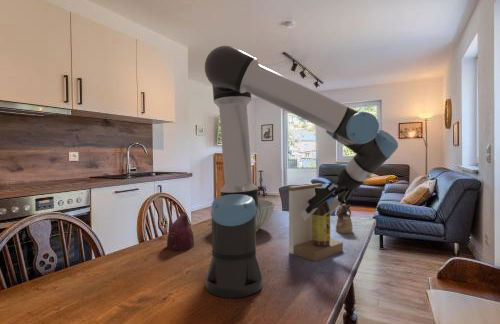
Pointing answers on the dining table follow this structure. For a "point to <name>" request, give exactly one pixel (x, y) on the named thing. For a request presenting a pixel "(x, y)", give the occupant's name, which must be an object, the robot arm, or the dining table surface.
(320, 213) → the sauce bottle
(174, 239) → the vegetable
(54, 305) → the dining table surface
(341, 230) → the figurine
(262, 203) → the decorative bowl
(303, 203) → the upright board stand
